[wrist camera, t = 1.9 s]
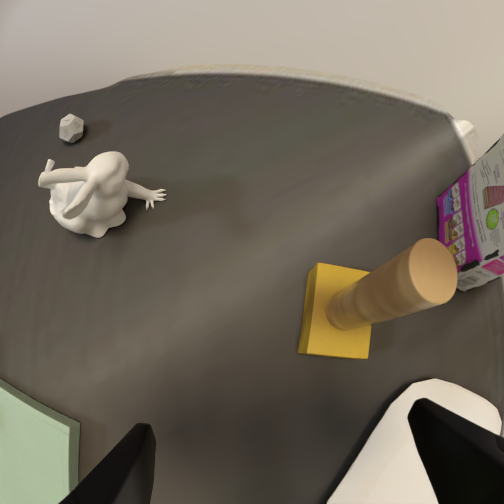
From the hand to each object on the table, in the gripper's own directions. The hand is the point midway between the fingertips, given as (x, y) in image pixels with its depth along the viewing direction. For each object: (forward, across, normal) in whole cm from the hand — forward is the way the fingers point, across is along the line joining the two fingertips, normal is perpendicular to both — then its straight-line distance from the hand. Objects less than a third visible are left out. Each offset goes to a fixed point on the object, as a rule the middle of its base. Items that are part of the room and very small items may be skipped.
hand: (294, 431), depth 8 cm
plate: (+4, -17, +20) cm, 26 cm away
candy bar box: (+19, -23, -1) cm, 30 cm away
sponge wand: (+15, -7, +4) cm, 17 cm away
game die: (+27, +21, -12) cm, 37 cm away
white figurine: (+20, +14, -3) cm, 25 cm away
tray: (+3, +25, +21) cm, 33 cm away
